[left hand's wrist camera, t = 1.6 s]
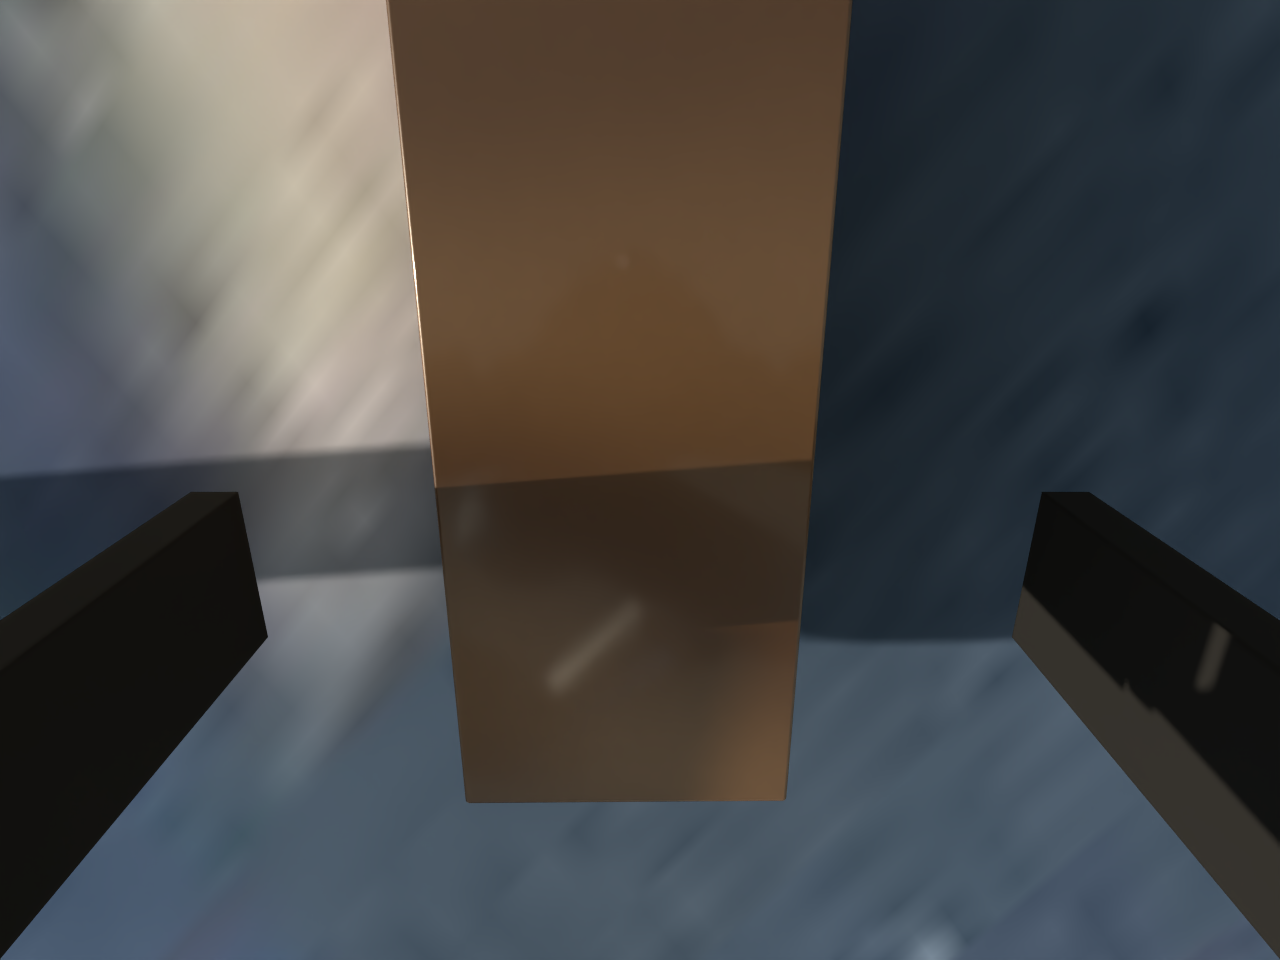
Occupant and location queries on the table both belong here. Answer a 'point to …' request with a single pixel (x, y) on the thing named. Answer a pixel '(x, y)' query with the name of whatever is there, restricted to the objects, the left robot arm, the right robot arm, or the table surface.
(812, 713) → the table surface
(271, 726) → the table surface
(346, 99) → the table surface
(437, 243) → the brown wooden beam
